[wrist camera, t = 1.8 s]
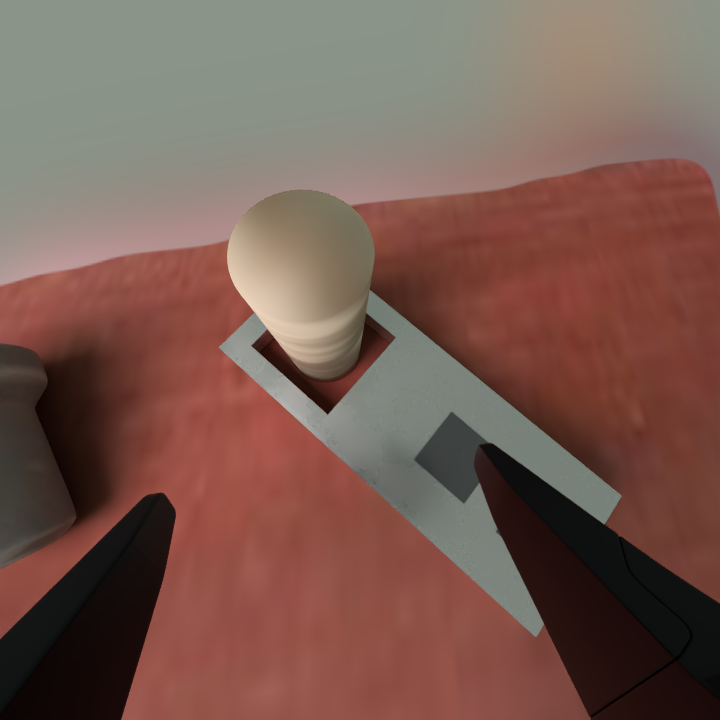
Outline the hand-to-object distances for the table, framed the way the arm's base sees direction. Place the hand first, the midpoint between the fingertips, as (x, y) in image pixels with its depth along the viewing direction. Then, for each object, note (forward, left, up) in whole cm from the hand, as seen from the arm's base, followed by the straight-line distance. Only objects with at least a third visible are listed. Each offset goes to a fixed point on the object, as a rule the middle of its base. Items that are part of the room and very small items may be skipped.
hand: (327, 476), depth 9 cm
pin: (+5, +6, -13) cm, 15 cm away
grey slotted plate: (+5, -2, -13) cm, 14 cm away
